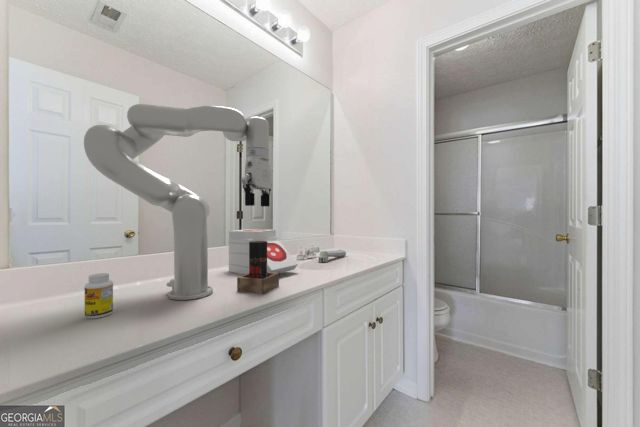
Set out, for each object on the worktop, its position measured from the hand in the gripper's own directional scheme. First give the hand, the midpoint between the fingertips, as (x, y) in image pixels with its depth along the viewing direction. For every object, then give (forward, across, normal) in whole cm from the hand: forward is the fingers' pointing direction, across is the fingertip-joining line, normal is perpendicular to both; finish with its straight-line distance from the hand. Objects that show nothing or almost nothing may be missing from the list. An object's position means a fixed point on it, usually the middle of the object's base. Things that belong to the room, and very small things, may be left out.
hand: (257, 206), depth 91 cm
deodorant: (+27, 0, 0) cm, 27 cm away
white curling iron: (+28, +64, -8) cm, 70 cm away
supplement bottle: (+28, -33, +26) cm, 50 cm away
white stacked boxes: (+28, +24, +13) cm, 39 cm away
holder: (+28, 0, 0) cm, 28 cm away
